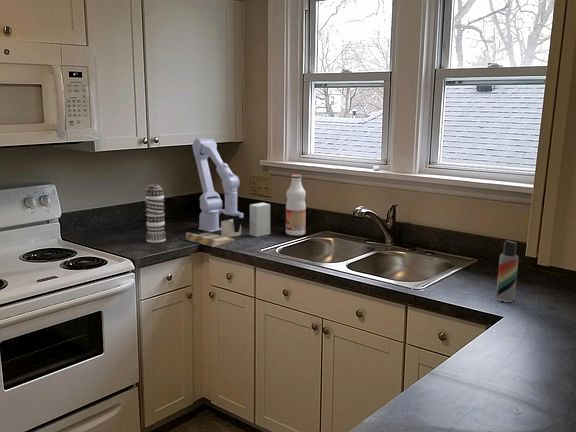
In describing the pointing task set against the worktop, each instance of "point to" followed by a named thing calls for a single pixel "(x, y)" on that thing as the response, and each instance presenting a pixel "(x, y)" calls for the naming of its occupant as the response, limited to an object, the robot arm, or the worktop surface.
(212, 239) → the tan flat slab
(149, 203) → the grey striped cylinder
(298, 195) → the fruit juice
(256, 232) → the skincare box
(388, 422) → the worktop surface
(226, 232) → the carton
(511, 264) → the lotion bottle
